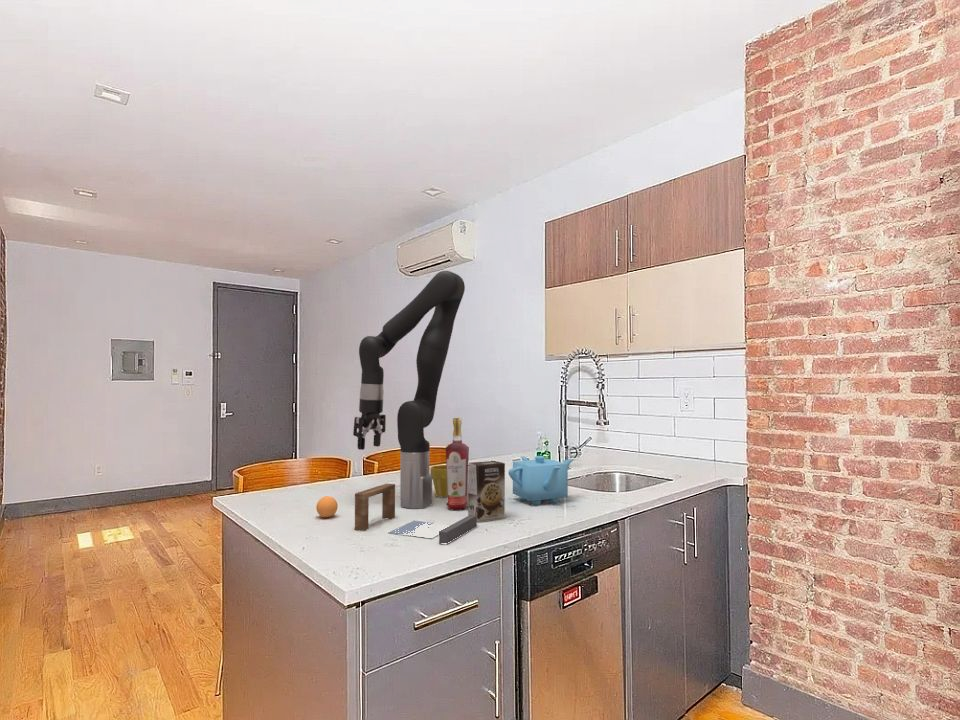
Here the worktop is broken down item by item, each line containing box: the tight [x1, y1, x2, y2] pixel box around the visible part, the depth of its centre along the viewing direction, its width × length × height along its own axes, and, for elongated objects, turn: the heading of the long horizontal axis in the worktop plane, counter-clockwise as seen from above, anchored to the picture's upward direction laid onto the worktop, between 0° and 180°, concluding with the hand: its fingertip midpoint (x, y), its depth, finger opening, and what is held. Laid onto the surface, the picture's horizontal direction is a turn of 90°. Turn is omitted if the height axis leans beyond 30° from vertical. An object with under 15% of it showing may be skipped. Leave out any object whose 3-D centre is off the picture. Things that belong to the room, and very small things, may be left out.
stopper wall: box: [438, 515, 478, 544], centre depth 145 cm, size 2×18×3 cm, turn 156°
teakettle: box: [508, 455, 575, 506], centre depth 184 cm, size 19×19×15 cm
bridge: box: [354, 483, 396, 532], centre depth 156 cm, size 3×15×10 cm, turn 156°
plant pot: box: [430, 464, 448, 498], centre depth 192 cm, size 10×10×10 cm
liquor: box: [445, 417, 470, 511], centre depth 174 cm, size 7×7×28 cm
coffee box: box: [467, 460, 506, 523], centre depth 162 cm, size 9×6×16 cm
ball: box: [316, 495, 339, 518], centre depth 163 cm, size 6×6×6 cm
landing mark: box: [387, 520, 434, 537], centre depth 150 cm, size 13×13×1 cm
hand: (369, 447), depth 181 cm, fingers open, 8 cm apart
